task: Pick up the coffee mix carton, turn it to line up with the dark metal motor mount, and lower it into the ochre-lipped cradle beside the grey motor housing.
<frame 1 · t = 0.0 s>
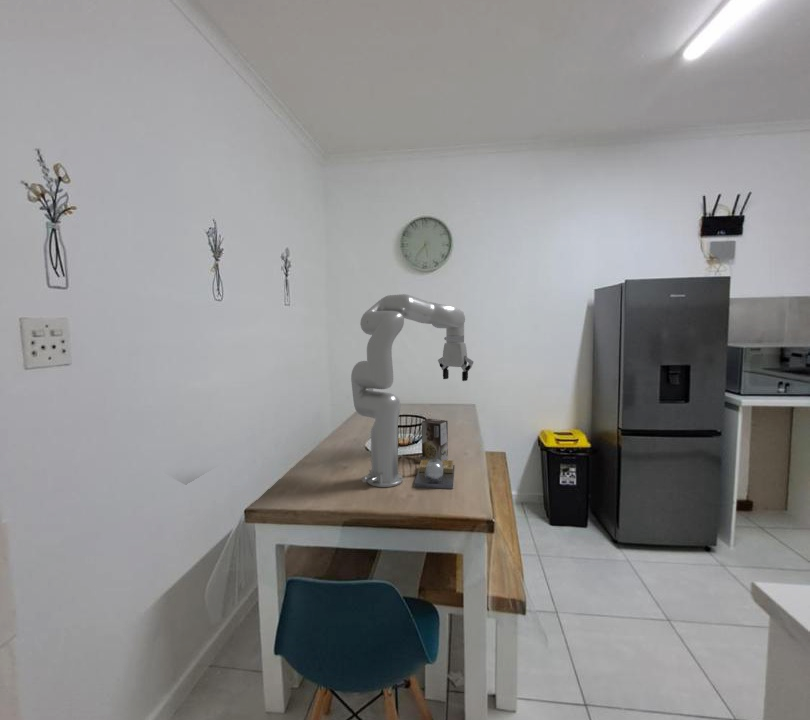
hand: (455, 379, 182), 31 cm above the table, tool pointing down, fingers open, 9 cm apart
motor mount: (435, 477, 153), on the table
coffee box: (434, 460, 173), on the table
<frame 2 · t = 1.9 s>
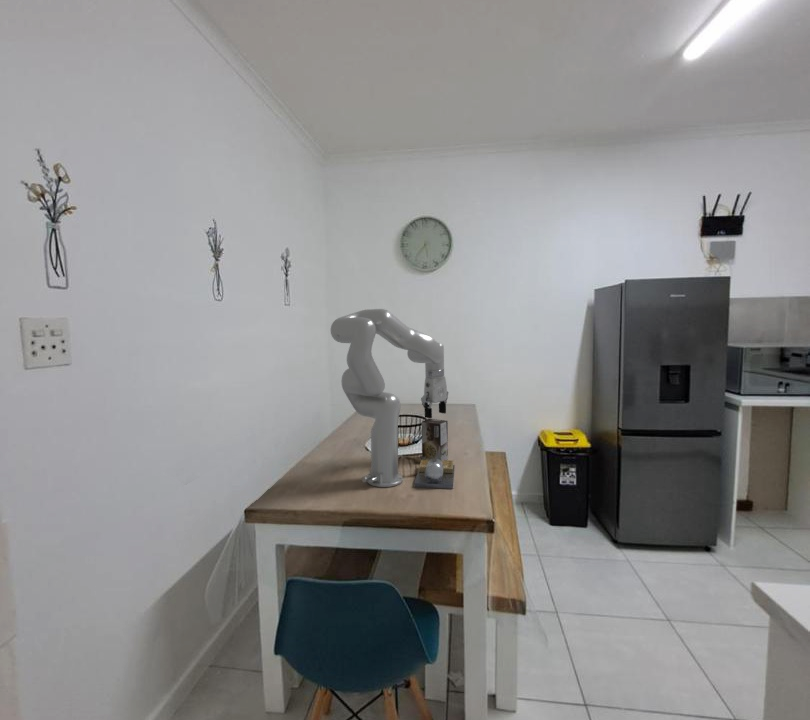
hand: (435, 415, 172), 18 cm above the table, tool pointing down, fingers open, 9 cm apart
nothing on the table moved.
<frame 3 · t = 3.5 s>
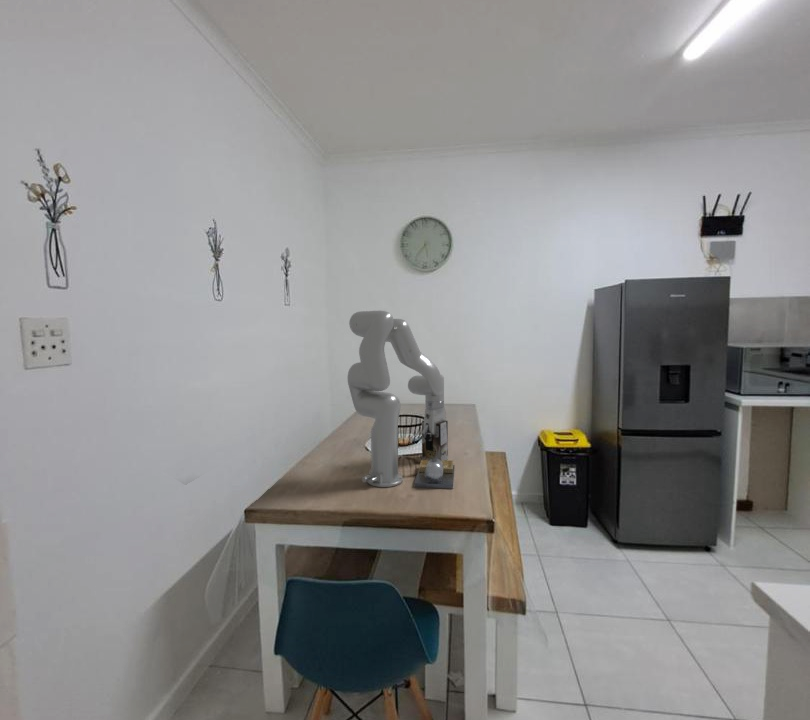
hand: (434, 447, 172), 5 cm above the table, tool pointing down, fingers closed on coffee box, 6 cm apart
coffee box: (434, 460, 173), on the table, touching gripper
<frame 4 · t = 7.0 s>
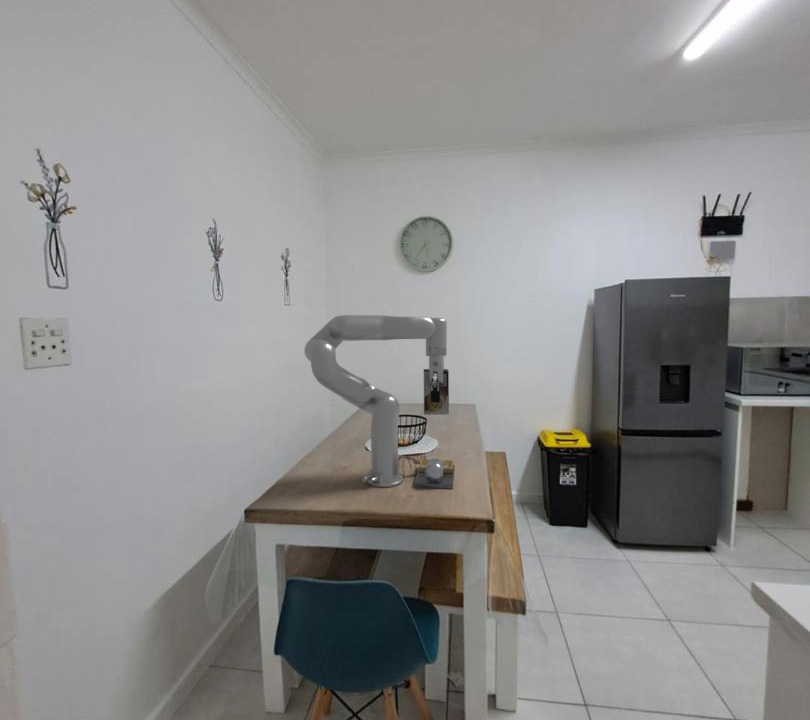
hand: (435, 399, 156), 27 cm above the table, tool pointing down, fingers closed on coffee box, 6 cm apart
coffee box: (435, 413, 156), point 22 cm above the table, touching gripper
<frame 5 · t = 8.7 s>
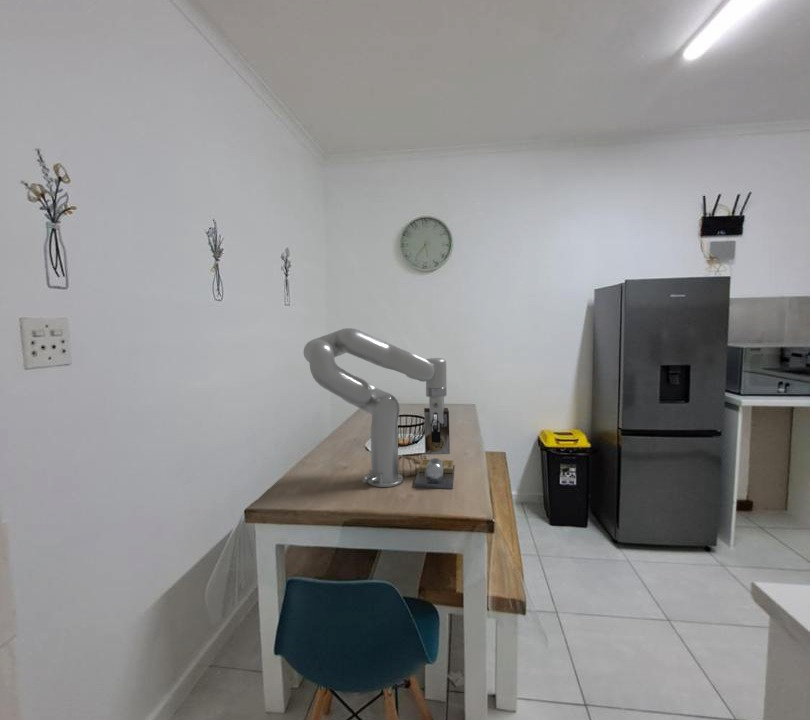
hand: (436, 439, 157), 13 cm above the table, tool pointing down, fingers closed on coffee box, 6 cm apart
coffee box: (437, 452, 157), point 8 cm above the table, touching gripper
when the fingers open (8 cm above the table, at t = 10.4 s): coffee box drops 1 cm, resting on motor mount.
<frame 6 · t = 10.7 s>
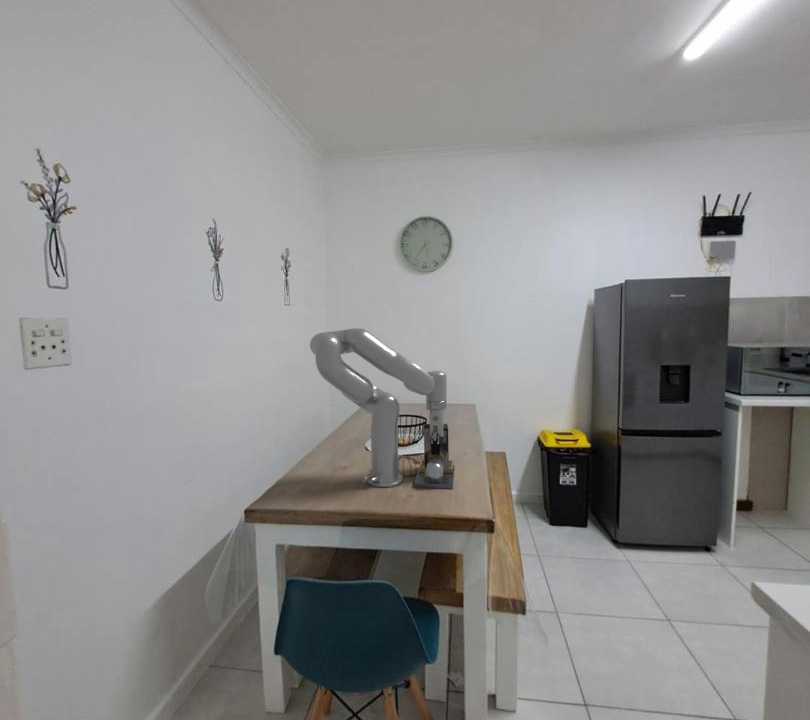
hand: (436, 450, 157), 8 cm above the table, tool pointing down, fingers open, 9 cm apart
coffee box: (436, 468, 158), point 2 cm above the table, touching motor mount
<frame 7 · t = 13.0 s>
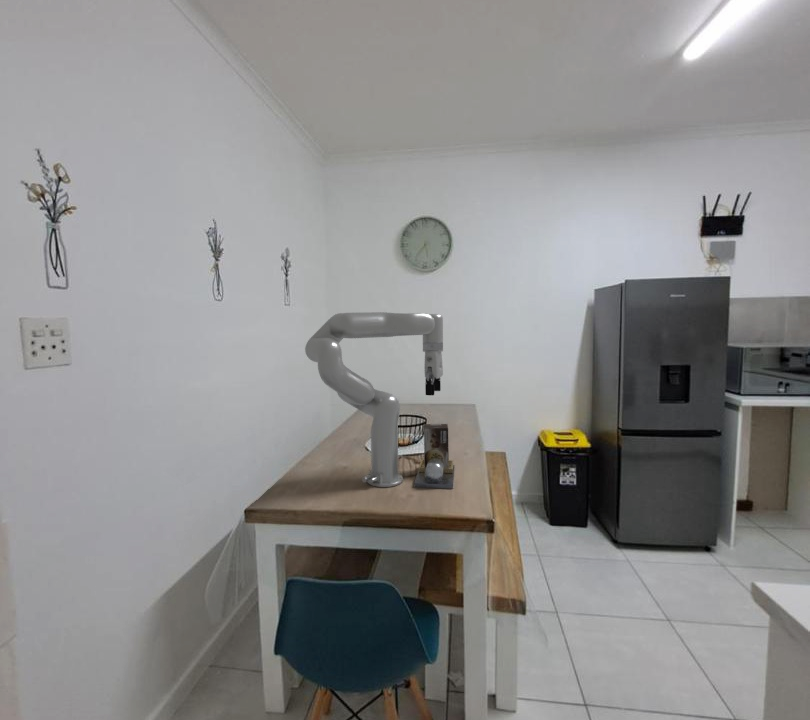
hand: (433, 393, 159), 29 cm above the table, tool pointing down, fingers open, 9 cm apart
nothing on the table moved.
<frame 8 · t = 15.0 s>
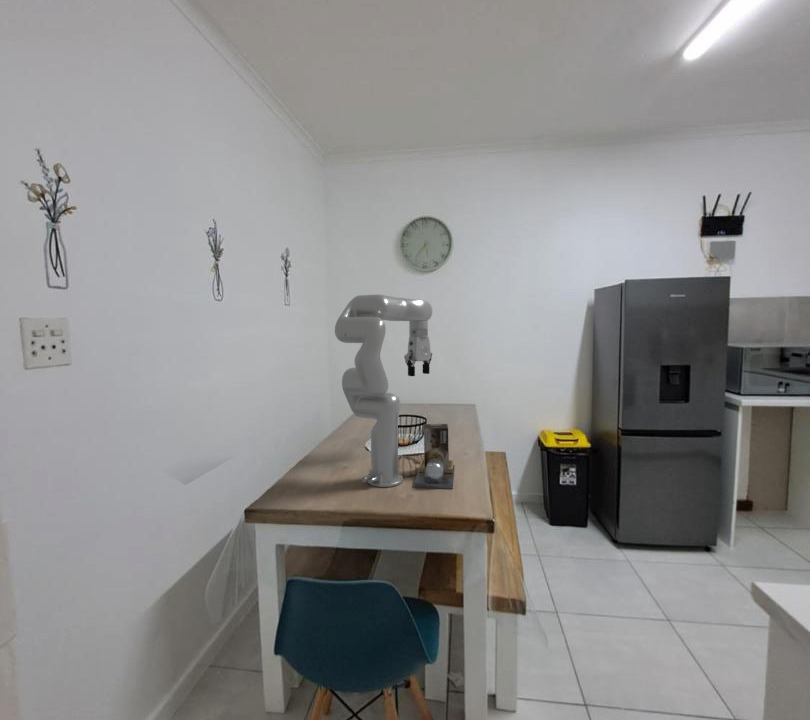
hand: (418, 374, 175), 34 cm above the table, tool pointing down, fingers open, 9 cm apart
nothing on the table moved.
at the end: coffee box 0.2 cm from the target spot, point 1.5 cm above the table; coffee box tilted 0°; the gripper is holding nothing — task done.
